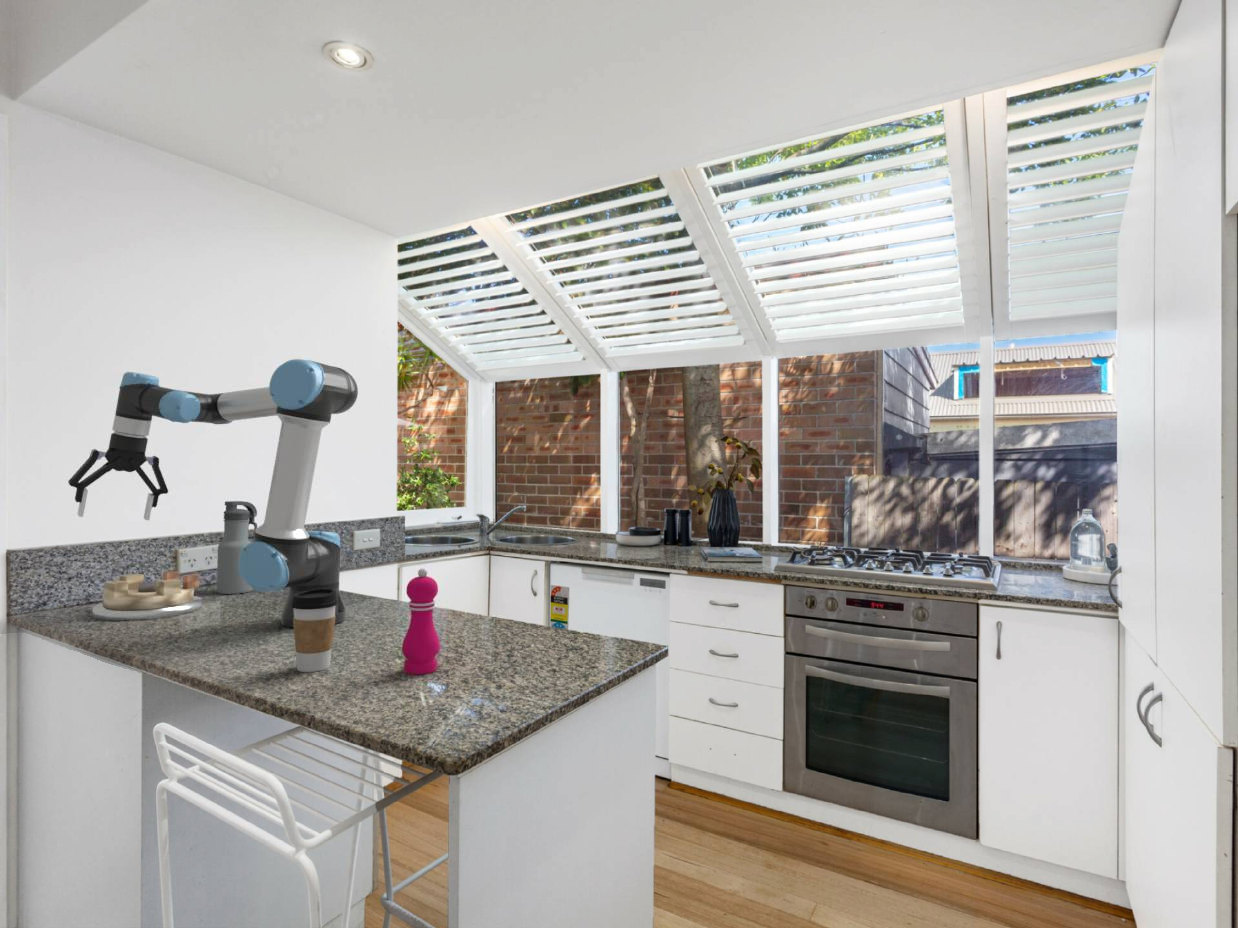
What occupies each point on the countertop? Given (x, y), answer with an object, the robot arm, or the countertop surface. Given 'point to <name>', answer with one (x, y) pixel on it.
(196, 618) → the countertop surface
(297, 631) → the coffee cup
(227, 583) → the water bottle
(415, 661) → the pepper mill
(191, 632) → the countertop surface
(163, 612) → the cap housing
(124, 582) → the ring nut
